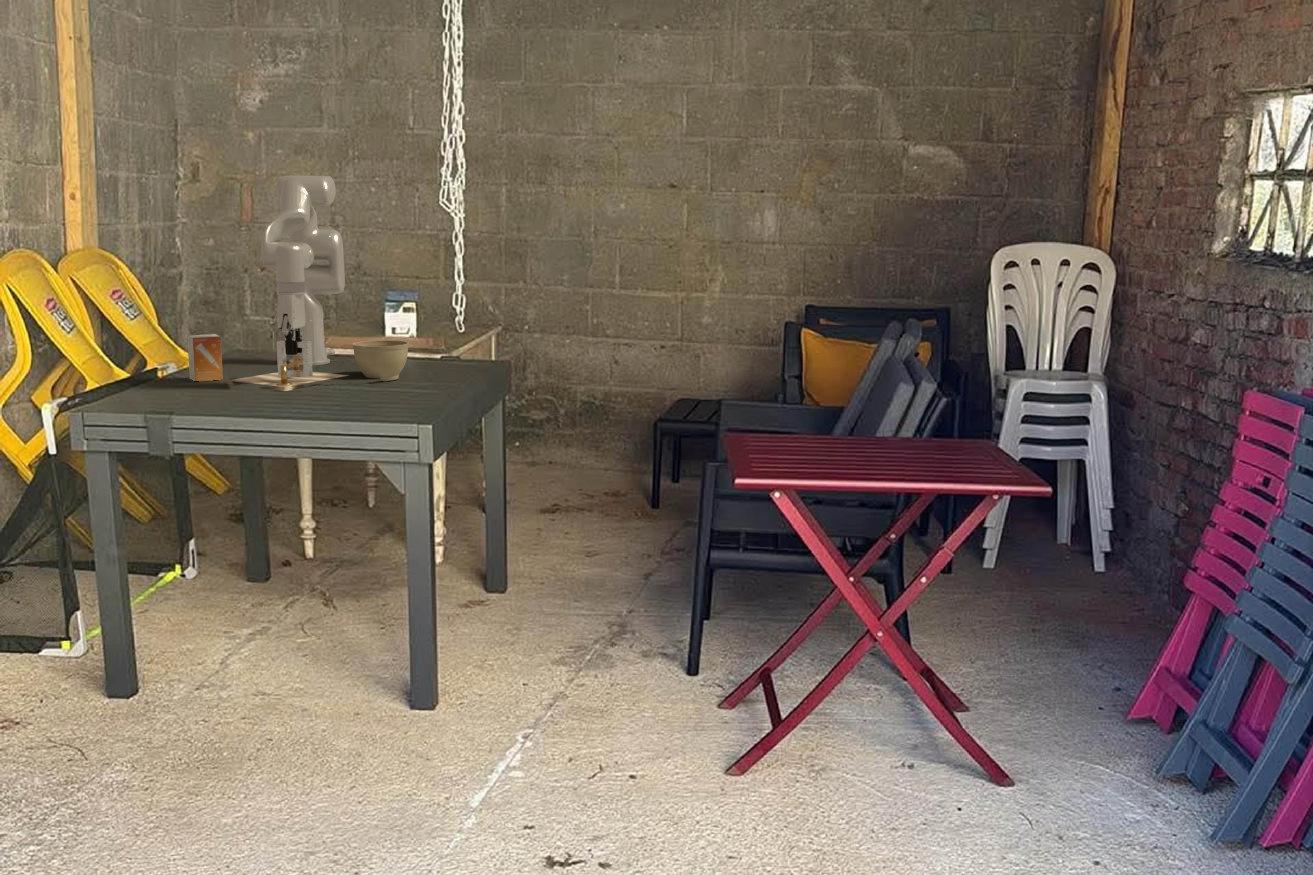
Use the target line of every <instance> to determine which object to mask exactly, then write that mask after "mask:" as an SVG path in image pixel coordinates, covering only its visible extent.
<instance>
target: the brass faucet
mask: <svg viewBox="0 0 1313 875" xmlns="http://www.w3.org/2000/svg"><path fill="white" fill-rule="evenodd" d="M292 359H293V363H287V364H286V365H282V366H280V367H281V382H279V383H276V385H278V386H277V387H279V386H288V385H292V382H287V370H288V369H293V370H294V371H303V369H300V366H302V364H303V358H302V357H301V356H299V354H296V355H292Z"/></svg>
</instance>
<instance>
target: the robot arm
mask: <svg viewBox="0 0 1313 875" xmlns="http://www.w3.org/2000/svg"><path fill="white" fill-rule="evenodd" d="M276 191H277V194H278V196H279V198H280V205H279V206H280V207H279V215H278V216H276V217H274V218H273V219H272V220H271V221H270V222H269V223H268V225H267V226H266V227H265V229H264V231H263V233H262V236H261V245H260V246H261V247H260V248H261V249H260V258H261V262H262V265H263V266H264V267H265V268H267V269H271V270H273V269H274V270H275V269H276V274H275V275H276V289H277V290H276V292H277V304H276V305H277V306H276V309H277V310H276V313H277V314H276V317H277V318H276V322H277V324H276V325H277V329H278V330H281V333H282V334H283V335H284V336H283V339H284V341H285V350H286V356H287V355H290V356H291V355H292V356H293V355H296V354H299V356H301V357H302V358H303V349H302V348H297V341H311V348H312V366H321V365H322V366H323V365H327V364H330V362H331V359H330V358H328V357H329V356H333V355H335V353H336V351H335V349H334V348H329V349H328V348H327V347H325V330H324V329H325V328H324V309H323V306H322V303H320V302H319V300H318V299H317V298H316V296H315V295H336V294H337V295H338V294H341V293H342V292H344V289H345V285H346V275H345V256H344V243H343V238H342V235H341V233H340V232H339V231H338V230H336V229H333V228H332V229H330V228H326V229H325V228H321V229H320V228H319V226H318V214H317V211H316V209H315V207H313V206H330V205H332V204H333V203H334V201H335V199H336V195H337V188H336V183H335V181H334V179H333V178H332V176H330V175H303V174H300V175H298V174H295V175H294V174H293V175H291V174H290V175H284V176H281V177H279V178H277V180H276ZM286 236H289V238H290V239H289V242H287V241H283V242H282V241H278V240H279V239H281V238H283V237H286ZM276 241H277V242H276ZM315 260H316V261H318V260H322V261H327V262H328V263H313V262H314V261H315ZM290 363H293V358H291V359H289V361H288V364H290ZM301 366H302V367H303V364H302V365H301Z"/></svg>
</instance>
